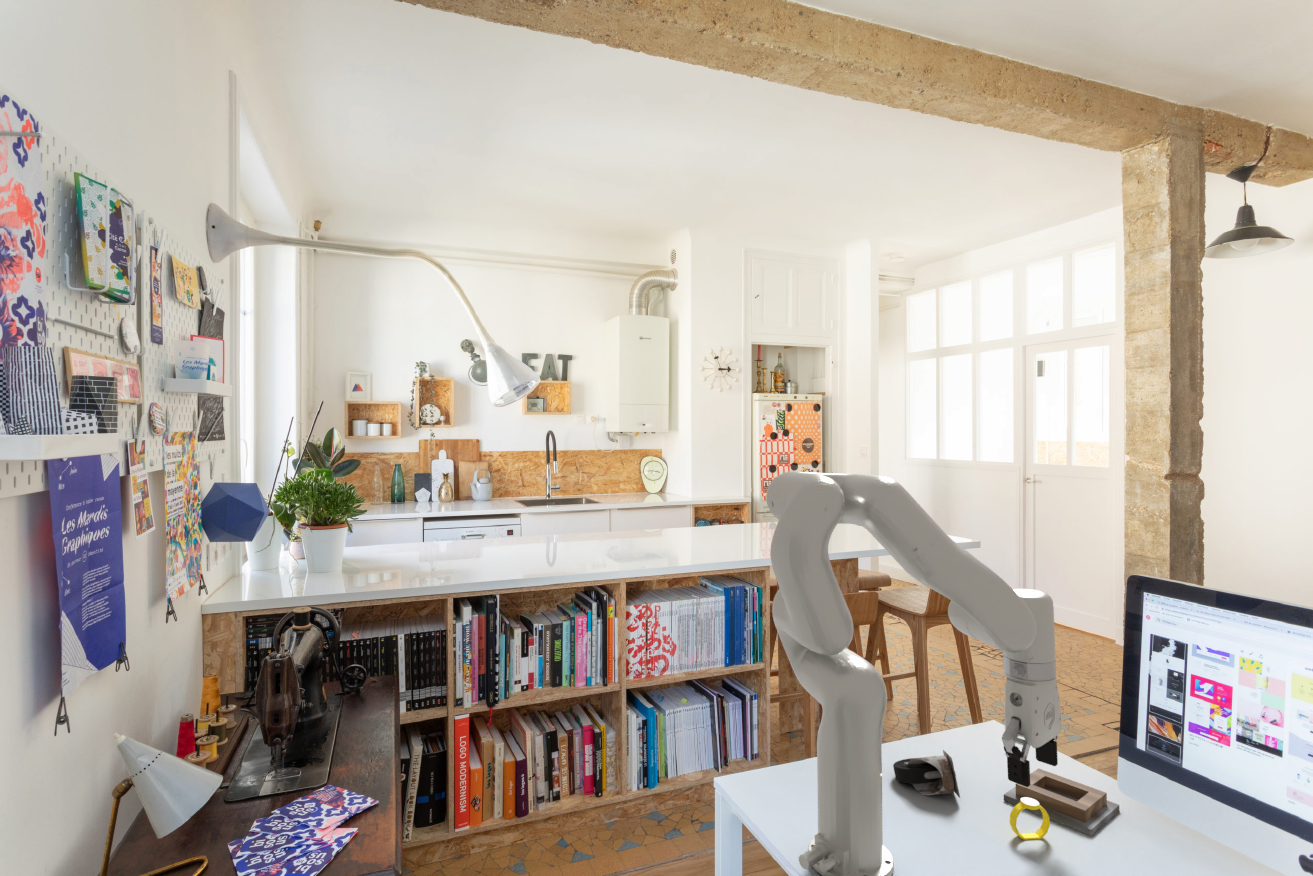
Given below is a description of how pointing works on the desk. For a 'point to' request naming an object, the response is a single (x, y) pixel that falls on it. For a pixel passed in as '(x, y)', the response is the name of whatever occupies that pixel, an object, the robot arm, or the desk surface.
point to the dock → (1066, 801)
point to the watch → (1033, 805)
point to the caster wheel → (928, 774)
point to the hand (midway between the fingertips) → (1033, 772)
